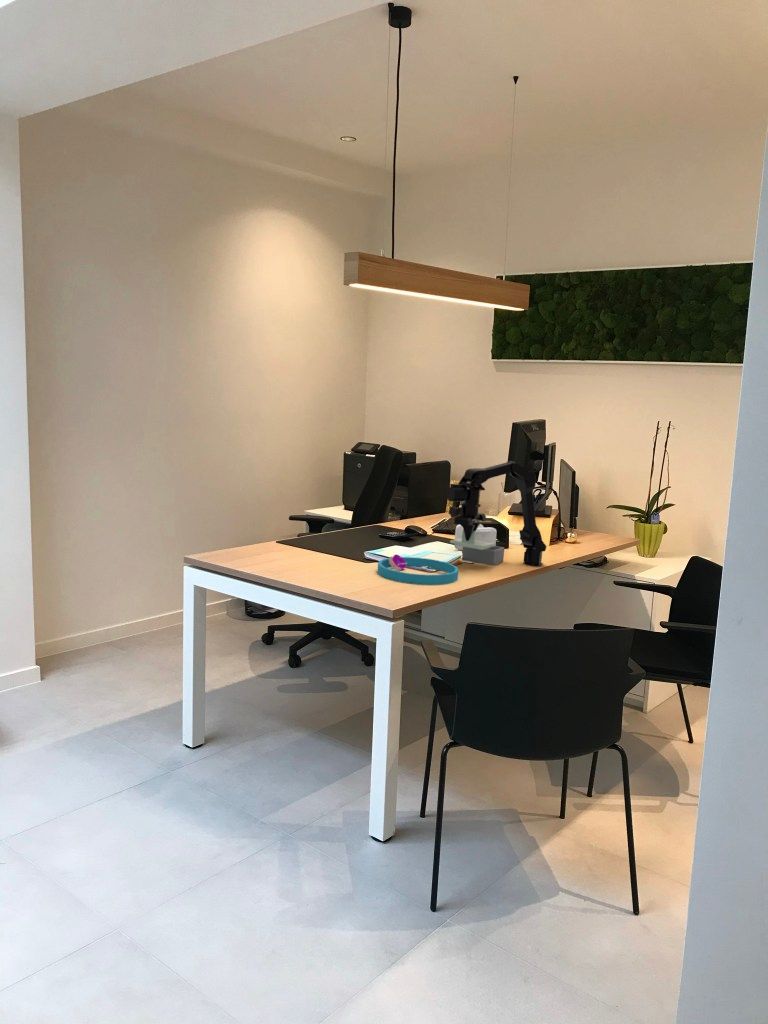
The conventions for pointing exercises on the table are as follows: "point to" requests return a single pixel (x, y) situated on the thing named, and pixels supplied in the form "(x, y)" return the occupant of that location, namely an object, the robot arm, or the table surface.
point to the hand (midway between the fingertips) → (468, 540)
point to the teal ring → (401, 562)
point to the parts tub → (484, 555)
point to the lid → (471, 542)
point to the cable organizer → (478, 535)
